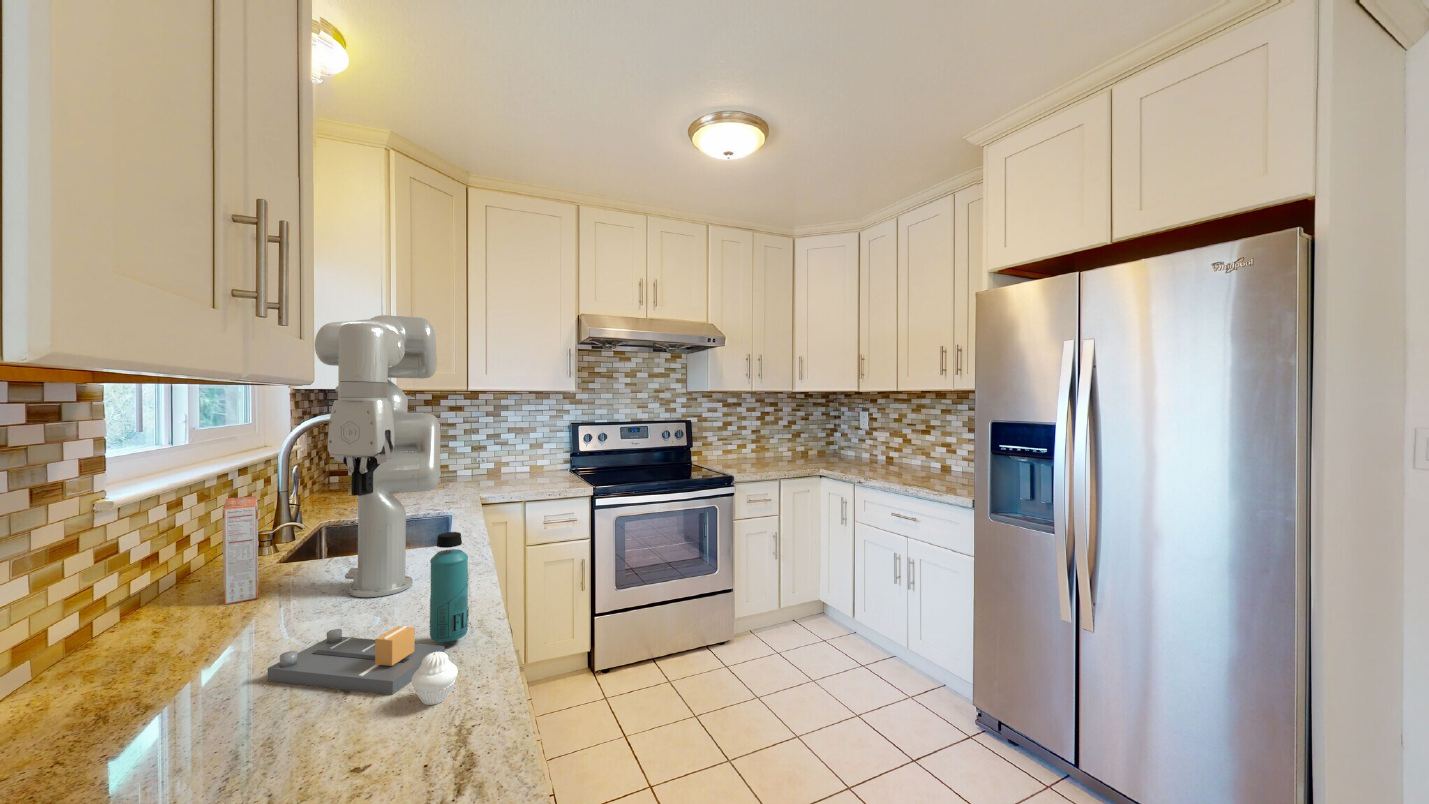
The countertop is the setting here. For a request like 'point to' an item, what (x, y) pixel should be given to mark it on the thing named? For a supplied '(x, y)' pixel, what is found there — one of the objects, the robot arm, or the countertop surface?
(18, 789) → the countertop surface
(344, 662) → the console board
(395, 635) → the fader tab
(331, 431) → the robot arm
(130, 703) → the countertop surface
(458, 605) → the beverage bottle
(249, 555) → the cracker box
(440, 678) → the muffin
